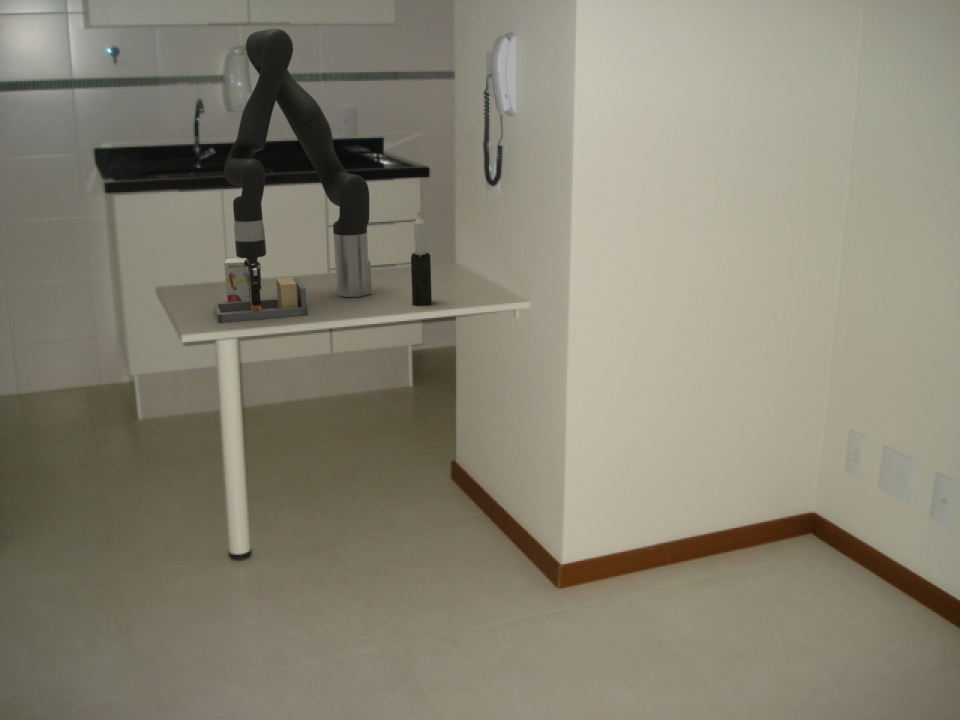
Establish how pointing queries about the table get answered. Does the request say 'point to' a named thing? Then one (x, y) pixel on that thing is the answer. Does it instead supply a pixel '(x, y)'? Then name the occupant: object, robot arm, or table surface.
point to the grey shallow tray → (264, 304)
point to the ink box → (236, 280)
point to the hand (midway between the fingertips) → (255, 302)
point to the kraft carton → (286, 293)
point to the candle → (420, 266)
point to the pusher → (253, 308)
